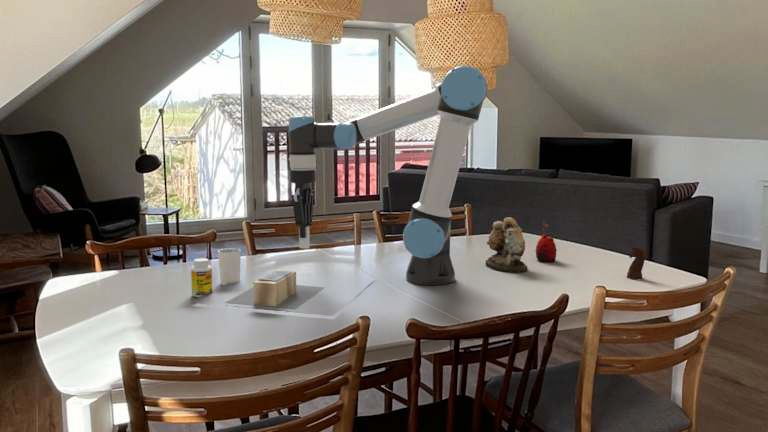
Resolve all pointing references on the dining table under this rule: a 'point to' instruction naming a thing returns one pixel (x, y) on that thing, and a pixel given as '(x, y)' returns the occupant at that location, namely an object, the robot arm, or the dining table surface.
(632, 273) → the chess piece
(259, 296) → the oak block
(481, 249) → the dining table surface
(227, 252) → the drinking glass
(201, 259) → the supplement bottle
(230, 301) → the mat
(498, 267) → the owl figurine
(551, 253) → the red clay folk toy
